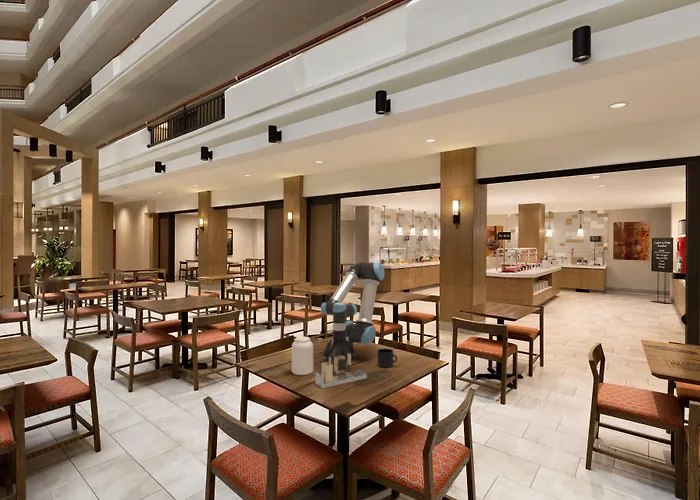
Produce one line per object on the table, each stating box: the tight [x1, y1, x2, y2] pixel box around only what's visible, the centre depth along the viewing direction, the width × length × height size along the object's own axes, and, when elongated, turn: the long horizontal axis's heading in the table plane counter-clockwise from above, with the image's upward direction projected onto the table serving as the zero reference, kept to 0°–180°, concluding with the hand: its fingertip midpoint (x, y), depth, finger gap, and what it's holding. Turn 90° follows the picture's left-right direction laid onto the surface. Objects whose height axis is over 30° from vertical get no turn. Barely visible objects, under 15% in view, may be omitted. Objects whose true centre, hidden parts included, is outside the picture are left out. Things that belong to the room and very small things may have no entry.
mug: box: [377, 348, 398, 369], centre depth 228 cm, size 9×12×9 cm
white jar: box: [291, 336, 314, 376], centre depth 217 cm, size 12×12×20 cm
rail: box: [315, 361, 368, 389], centre depth 202 cm, size 7×28×11 cm, turn 121°
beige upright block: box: [333, 355, 346, 375], centre depth 216 cm, size 5×5×9 cm
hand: (339, 366), depth 216 cm, fingers open, 13 cm apart
